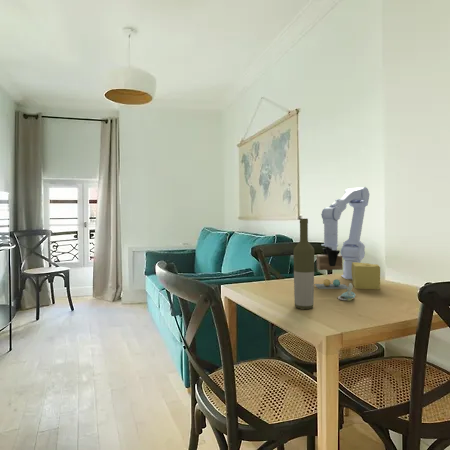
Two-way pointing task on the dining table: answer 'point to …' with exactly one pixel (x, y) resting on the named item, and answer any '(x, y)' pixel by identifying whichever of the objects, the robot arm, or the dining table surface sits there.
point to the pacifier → (348, 294)
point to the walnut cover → (324, 263)
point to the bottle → (304, 269)
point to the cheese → (365, 275)
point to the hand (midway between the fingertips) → (330, 264)
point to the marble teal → (336, 282)
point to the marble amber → (326, 282)
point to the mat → (331, 286)
